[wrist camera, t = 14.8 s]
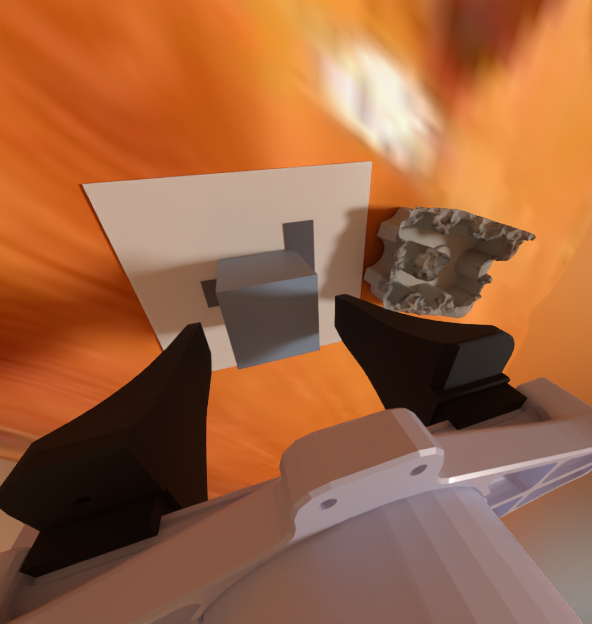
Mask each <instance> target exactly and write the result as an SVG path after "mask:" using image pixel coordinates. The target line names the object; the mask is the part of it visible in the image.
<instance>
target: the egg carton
mask: <svg viewBox="0 0 592 624" xmlns="http://www.w3.org/2000/svg"><path fill="white" fill-rule="evenodd" d="M415 208H416V209H410V208H407V207H401V208H399V209H398V211H397V212H396V213H395V215H394V216H393V217H391V218H390V219H389V220H385V221H383V222H382V223H381V225H380V228H379V231H378V233H377V237H380V238H381V239H382V240H383V242H384V247H385V248H384V253H383V254H382V258H381V259H380V260H378V261H377V263H375V264H374V265H373V266H370V267H368V268H367V269H366V273H365V276H364V280H365V281H367V282H368V283H370V285H371V290H370V292H371V293H372V294H373V295H374V296H375V297H377V298H379V299H380V300H381V301H382V302H383V305H384V308H386V309H389V310H392V311H395V312H397V311H402V312H406V313H410V312H411V313H414V314H417V315H441V316H447V317H454V318H460V317H463V316H465V315H466V314H467V313H468V312H469V311H470V310H471V308H472V305H473V303H474V302H475V301H476V300H478V299H479V298H481V295H480V292H481V289H482V288H483V286H484V285H485V284H487V283H491V281H492V278H491V276H490V275H487V271H488V270H489V268H490V266H491V264H492V262H493V260H496V261H507V260H509V259H510V258H511V257H512V256H513V255H514V254H515V253H516V252H517V250H518V248H519V245H521V244H522V243H523V242H524V241H525V240H527V241H528V240H532V241H533V240H534V239H535V238H536V237H535V235H534V234H532V233H529V232H526V231H523V230H520V229H517V228H514V227H511V226H508V225H504V224H501V223H498V222H495V221H492V220H489V219H487V218H484V217H480V216H476V215H474V214H471V213H468V212H465V211H462V210H458V209H445V208H423V207H415Z"/></svg>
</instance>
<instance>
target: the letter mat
mask: <svg viewBox="0 0 592 624" xmlns="http://www.w3.org/2000/svg"><path fill="white" fill-rule="evenodd" d="M371 170H372V161H368V162H356V163H343V164H330V165H318V166H305V167H293V168H280V169H267V170H255V171H242V172H230V173H217V174H204V175H192V176H179V177H166V178H154V179H141V180H129V181H116V182H103V183H91V184H82V185H83V187H84V189H85V191H86V193H87V195H88V198H89V200H90V202H91V204H92V206H93V208H94V210H95V212H96V214H97V216H98V218H99V220H100V222H101V224H102V226H103V228H104V230H105V232H106V234H107V236H108V238H109V240H110V242H111V244H112V246H113V248H114V250H115V252H116V254H117V256H118V258H119V260H120V263H121V265H122V267H123V269H124V271H125V273H126V275H127V277H128V279H129V281H130V283H131V285H132V287H133V289H134V291H135V293H136V295H137V297H138V299H139V301H140V303H141V305H142V307H143V309H144V311H145V313H146V315H147V317H148V319H149V321H150V323H151V326H152V328H153V330H154V332H155V334H156V336H157V338H158V340H159V342H160V344H161V346H162V348H163V350H165V349H166V348H167V347H168V346H169V345H170V343H171V342H172V341H173V340H174V339H175V338H176V337H177V336H178V334H179V333H180V332H181V331H182V330H183V329H184V328H185V327H186V326H187V325H188V324H192V323H197V322H201V325H202V328H203V331H204V334H205V336H206V339H207V342H208V345H209V348H210V351H211V358H212V371H215V370H220V369H224V368H228V367H233V366H237V364H236V360H235V357H234V353H233V350H232V347H231V343H230V340H229V336H228V333H227V330H226V326H225V323H224V319H223V316H222V313H221V309H220V306H219V302H218V299H217V296H216V282H217V271H218V260H221V259H228V258H234V257H241V256H247V255H254V254H260V253H267V252H273V251H280V250H286V249H294V250H295V251H296V252H297V253H298V254H299V255H300V256H301V257H302V258H303V259H304V261H305V262H306V263H307V264H308V265H309V266H310V267H311V268H312V269H313V270H314V271H315V272H316V273H317V274H318V308H319V342H320V346H323V345H327V344H332V343H336V342H340V341H342V340H341V338H340V336H339V334H338V332H337V330H336V328H335V326H334V318H335V296H336V295H341V294H348V295H351V296H354V297H356V298H359V299H360V294H361V283H362V271H363V260H364V249H365V237H366V226H367V215H368V203H369V192H370V181H371Z"/></svg>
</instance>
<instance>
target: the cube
mask: <svg viewBox="0 0 592 624" xmlns="http://www.w3.org/2000/svg"><path fill="white" fill-rule="evenodd" d="M216 296H217V299H218V302H219V306H220V309H221V313H222V316H223V319H224V323H225V326H226V330H227V333H228V336H229V340H230V343H231V347H232V350H233V353H234V357H235V360H236V364H237V367H238V369H242V368H247V367H251V366H255V365H259V364H263V363H267V362H271V361H276V360H280V359H284V358H288V357H292V356H296V355H300V354H305V353H309V352H313V351H317V350H320V342H319V308H318V274H317V273H316V272H315V271H314V270H313V269H312V268H311V267H310V266H309V265H308V264H307V263H306V262H305V261H304V259H303V258H302V257H301V256H300V255H299V254H298V253H297V252H296V251H295V250H294V249H286V250H280V251H273V252H267V253H260V254H254V255H247V256H241V257H234V258H228V259H221V260H218V271H217V282H216Z"/></svg>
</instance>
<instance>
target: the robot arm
mask: <svg viewBox="0 0 592 624" xmlns="http://www.w3.org/2000/svg"><path fill="white" fill-rule="evenodd" d="M334 326H335V328H336V330H337V332H338V334H339V336H340V338H341V340H342V341H343V343H344V344H345V345H346V347H347V348H348V350H349V351H350V352H351V354H352V355H353V356H354V358H355V359H356V360H357V362H358V363H359V365H360V366H361V367H362V369H363V370H364V372H365V373H366V375H367V376H368V378H369V380H370V382H371V383H372V385H373V387H374V389H375V390H376V392H377V394H378V396H379V398H380V400H381V402H382V403H383V405H384V407H385V409H386V410H384V411H380V412H377V413H374V414H371V415H367V416H364V417H361V418H358V419H354V420H351V421H348V422H345V423H341V424H338V425H335V426H332V427H328V428H325V429H322V430H319V431H315V432H312V433H310V434H308V435H306V436H304V437H302V438H300V439H298V440H296V441H295V442H294V443H293V444H292V445H291V446H290V447H288V448H287V449H286V450H285V452H284V453H283V455H282V458H281V462H280V472H281V476H280V477H277V478H274V479H271V480H268V481H265V482H262V483H259V484H256V485H253V486H250V487H247V488H244V489H241V490H238V491H235V492H232V493H229V494H226V495H223V496H220V497H217V498H214V499H211V500H208V494H207V464H206V417H207V406H208V398H209V390H210V381H211V373H212V358H211V351H210V348H209V345H208V342H207V339H206V336H205V334H204V331H203V328H202V325H201V322H197V323H192V324H188V325H187V326H186V327H185V328H184V329H183V330H182V331H181V332H180V333H179V334H178V336H177V337H176V338H175V339H174V340H173V341H172V342H171V343H170V345H169V346H168V347H167V348H166V349H165V350H164V351H163V352H162V353H161V354H160V355H159V356H158V357H157V358H156V359H155V360H154V361H153V362H152V363H151V364H150V365H149V366H148V367H147V368H146V369H145V370H143V371H142V372H141V373H140V374H139V375H137V376H136V377H135V378H134V379H133V380H131V381H130V382H129V383H128V384H126V385H125V386H123V387H122V388H121V389H119V390H118V391H117V392H115V393H114V394H113V395H111V396H110V397H108V398H107V399H105V400H104V401H102V402H101V403H99V404H98V405H96V406H95V407H93V408H92V409H90V410H89V411H87V412H85V413H84V414H82V415H81V416H79V417H77V418H76V419H74V420H72V421H70V422H69V423H67V424H65V425H63V426H62V427H60V428H58V429H56V430H54V431H53V432H51V433H49V434H47V435H45V436H44V437H42V438H40V439H38V440H36V441H34V442H33V443H32V444H31V445H30V447H29V448H28V449H27V451H26V452H25V453H24V455H23V456H22V458H21V459H20V460H19V462H18V463H17V464H16V466H15V467H14V469H13V470H12V472H11V473H10V474H9V476H8V477H7V478H6V480H5V481H4V482H3V484H2V485H1V486H0V509H1V510H3V511H4V512H5V513H6V514H8V515H9V516H11V517H13V518H15V519H17V520H19V521H21V522H23V523H24V524H25V526H24V527H23V529H22V531H21V532H20V534H19V536H18V538H17V539H16V541H15V543H14V544H13V546H12V548H11V550H8V551H5V552H1V553H0V624H583V622H582V621H581V620H580V619H579V617H578V616H577V615H576V614H575V613H574V612H573V610H572V609H571V608H570V606H569V605H568V604H567V603H566V601H565V600H564V599H563V598H562V596H561V595H560V594H559V593H558V592H557V590H556V589H555V588H554V586H553V585H552V584H551V583H550V581H549V580H548V579H547V578H546V576H545V575H544V574H543V573H542V572H541V570H540V569H539V568H538V567H537V565H536V564H535V563H534V562H533V560H532V559H531V558H530V557H529V555H528V554H527V553H526V552H525V551H524V549H523V548H522V547H521V545H520V544H519V543H518V542H517V540H516V539H515V538H514V537H513V536H512V534H511V533H510V532H509V531H508V529H507V528H506V527H505V525H504V524H503V523H502V522H501V520H500V519H499V518H501V517H502V516H504V515H506V514H508V513H510V512H512V511H514V510H516V509H518V508H519V507H521V506H523V505H525V504H527V503H529V502H531V501H533V500H535V499H536V498H538V497H540V496H542V495H544V494H546V493H548V492H550V491H552V490H554V489H556V488H558V487H560V486H562V485H564V484H566V483H568V482H570V481H573V480H575V479H576V478H579V477H581V476H583V475H585V474H587V473H589V472H590V471H591V470H592V407H591V406H590V405H588V404H586V403H585V402H583V401H582V400H580V399H578V398H577V397H575V396H574V395H572V394H570V393H569V392H567V391H566V390H564V389H562V388H561V387H559V386H558V385H556V384H554V383H553V382H551V381H549V380H548V379H546V378H538V379H535V380H532V381H529V382H526V383H523V384H521V385H519V386H518V387H517V388H513V387H512V386H510V385H509V384H508V382H509V381H510V379H509V377H508V376H506V375H505V374H503V373H502V371H503V369H504V367H505V365H506V364H507V362H508V360H509V358H510V357H511V355H512V352H513V350H514V344H515V343H514V339H513V337H512V336H511V335H510V334H508V333H506V332H504V331H503V330H501V329H499V328H497V327H495V326H493V325H477V324H460V323H450V322H442V321H435V320H429V319H423V318H418V317H414V316H410V315H406V314H402V313H398V312H395V311H392V310H389V309H386V308H383V307H380V306H377V305H374V304H372V303H369V302H367V301H364V300H362V299H359V298H356V297H354V296H351V295H348V294H341V295H336V296H335V318H334Z"/></svg>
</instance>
